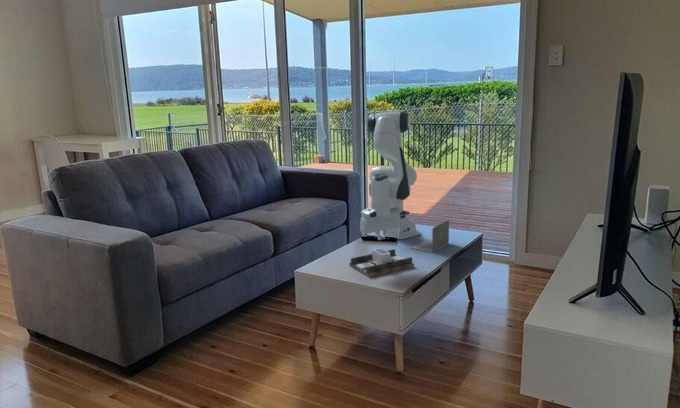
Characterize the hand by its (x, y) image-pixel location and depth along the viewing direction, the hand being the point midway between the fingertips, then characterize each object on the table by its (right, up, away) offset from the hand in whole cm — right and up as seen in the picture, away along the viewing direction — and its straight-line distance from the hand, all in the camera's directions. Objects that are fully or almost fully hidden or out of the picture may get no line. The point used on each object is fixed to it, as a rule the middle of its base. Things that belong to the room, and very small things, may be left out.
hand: (381, 239), depth 229 cm
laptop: (+28, -6, +29) cm, 41 cm away
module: (0, -10, +2) cm, 11 cm away
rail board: (0, -13, +3) cm, 13 cm away
